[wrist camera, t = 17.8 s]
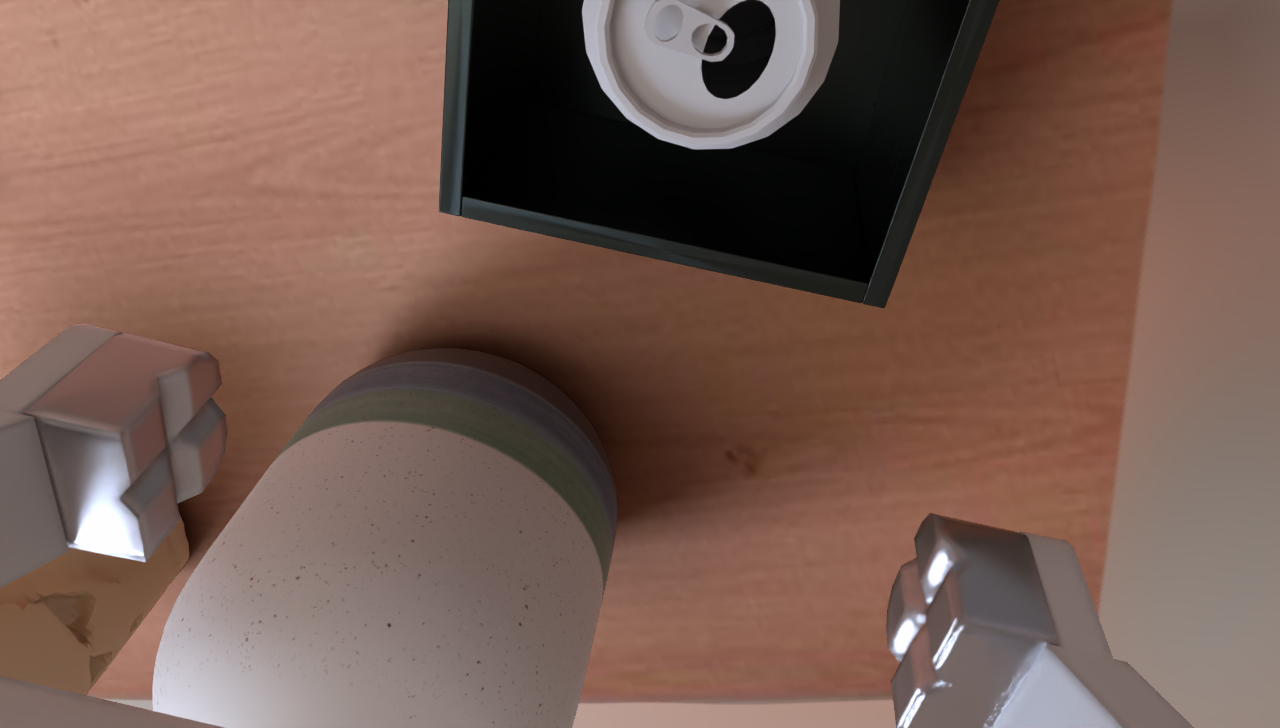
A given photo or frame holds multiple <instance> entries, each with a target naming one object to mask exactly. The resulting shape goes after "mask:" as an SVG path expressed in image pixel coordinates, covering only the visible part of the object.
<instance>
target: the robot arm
mask: <svg viewBox="0 0 1280 728" xmlns="http://www.w3.org/2000/svg"><path fill="white" fill-rule="evenodd" d="M221 385H222V381H221V375H220V369H219V362H218V360H217V359H216V358H215V357H213V356H212V355H211V354H210V353H207V352H203V351H199V350H195V349H191V348H187V347H183V346H179V345H174V344H170V343H166V342H162V341H158V340H154V339H150V338H146V337H142V336H138V335H134V334H130V333H122V332H119V331H115V330H110V329H106V328H102V327H98V326H94V325H90V324H86V323H83V324H77V325H71V326H69V327H67V328H66V329H65V330H64V331H62V332H61V333H60V334H58V335H57V336H56V337H55V338H53V339H52V340H51V341H50V342H48V343H47V344H46V345H44V346H43V347H42V348H41V349H39V350H38V351H37V352H35V353H34V354H33V355H32V356H30V357H29V358H28V359H27V360H25V361H24V362H23V363H21V364H20V365H19V366H18V367H16V368H15V369H14V370H13V371H11V372H10V373H9V374H7V375H6V376H5V377H4V378H2V379H1V380H0V588H2V587H4V586H6V585H7V584H9V583H11V582H13V581H15V580H17V579H19V578H20V577H22V576H24V575H26V574H28V573H30V572H31V571H33V570H35V569H37V568H39V567H41V566H43V565H44V564H46V563H48V562H50V561H52V560H54V559H56V558H57V557H59V556H61V555H63V554H65V553H67V552H68V551H69V548H68V547H71V548H76V549H81V550H86V551H91V552H96V553H101V554H106V555H111V556H116V557H121V558H126V559H131V560H136V561H141V562H146V561H147V560H148V559H149V558H150V556H151V555H152V554H153V553H154V552H155V550H156V549H157V548H158V547H159V545H160V544H161V543H162V542H163V540H164V539H165V538H166V537H167V535H168V534H169V533H170V532H171V531H172V529H173V528H174V527H175V526H176V524H177V523H178V522H179V521H180V517H179V510H178V504H177V503H180V502H182V501H184V500H186V499H189V498H191V497H193V496H196V495H198V494H200V493H202V492H203V490H204V489H205V488H206V487H207V485H208V484H209V483H210V481H211V480H212V479H213V477H214V476H215V474H216V472H217V469H218V467H219V465H220V462H221V460H222V457H223V455H224V452H225V446H226V438H227V425H226V415H225V414H224V413H223V411H222V410H221V409H220V408H219V406H218V405H217V404H216V403H215V401H214V400H213V399H212V398H211V396H212V395H213V394H214V393H215V391H216V390H217V389H218V388H219V387H220V386H221ZM914 540H915V547H916V554H917V558H915V559H913V560H911V561H909V562H907V563H906V564H904V565H902V566H901V567H900V570H899V572H898V574H897V577H896V579H895V582H894V584H893V586H892V590H891V595H890V599H889V604H888V608H887V624H886V631H887V643H888V648H889V649H890V651H891V652H892V653H893V655H894V656H895V657H896V658H897V660H898V661H899V662H900V664H899V666H898V668H897V670H896V672H895V674H894V676H893V678H892V680H891V683H892V692H893V701H894V710H895V719H896V728H1194V727H1193V726H1192V725H1191V724H1190V723H1189V722H1188V721H1187V720H1186V719H1185V718H1184V717H1183V716H1182V715H1181V714H1179V713H1178V712H1177V711H1176V710H1175V709H1174V708H1173V707H1172V706H1171V705H1170V704H1169V703H1168V702H1167V701H1166V700H1165V699H1164V698H1163V697H1162V696H1161V695H1160V694H1159V693H1158V692H1157V691H1156V690H1155V689H1154V688H1153V687H1152V686H1151V685H1150V684H1149V683H1148V682H1147V681H1146V680H1145V679H1144V678H1143V677H1142V676H1141V675H1140V674H1139V673H1138V672H1137V671H1136V670H1135V669H1134V668H1132V667H1131V665H1129V664H1128V663H1127V662H1124V661H1119V660H1116V659H1113V657H1112V654H1111V651H1110V649H1109V646H1108V643H1107V641H1106V638H1105V635H1104V632H1103V629H1102V626H1101V623H1100V621H1099V618H1098V615H1097V612H1096V609H1095V607H1094V604H1093V601H1092V598H1091V595H1090V593H1089V590H1088V587H1087V584H1086V581H1085V579H1084V576H1083V573H1082V570H1081V567H1080V565H1079V562H1078V559H1077V556H1076V553H1075V551H1074V548H1073V547H1072V546H1071V545H1070V544H1069V543H1068V542H1067V541H1066V540H1061V539H1056V538H1051V537H1046V536H1041V535H1036V534H1031V533H1026V532H1019V533H1018V532H1015V531H1011V530H1006V529H1001V528H997V527H992V526H988V525H983V524H978V523H974V522H969V521H964V520H960V519H955V518H950V517H946V516H941V515H937V514H932V513H930V514H929V515H928V516H927V517H926V518H925V519H924V520H923V522H922V523H921V525H920V527H919V529H918V532H917V534H916V536H915V538H914ZM0 728H225V727H220V726H216V725H212V724H207V723H203V722H199V721H194V720H190V719H186V718H182V717H177V716H173V715H169V714H164V713H160V712H156V711H151V710H147V709H143V708H138V707H134V706H130V705H125V704H121V703H117V702H112V701H108V700H104V699H99V698H95V697H91V696H86V695H82V694H78V693H73V692H69V691H65V690H60V689H56V688H52V687H47V686H43V685H39V684H34V683H30V682H26V681H21V680H17V679H13V678H8V677H4V676H0Z"/></svg>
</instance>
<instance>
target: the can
mask: <svg viewBox="0 0 1280 728" xmlns="http://www.w3.org/2000/svg"><path fill="white" fill-rule="evenodd" d="M839 14H840V0H584V3H583V8H582V17H583V27H584V36H585V46H586V53H587V55H588V57H589V60H590V62H591V65H592V67H593V69H594V72H595V74H596V76H597V79H598V81H599V84H600V86H601V88H602V90H603V91H604V92H605V93H606V94H607V96H608V97H609V98H610V99H611V100H612V102H613V103H614V104H615V105H616V106H617V108H618V109H619V110H620V111H621V112H622V114H623V115H624V116H625V117H626V118H627V119H628V120H630V121H631V122H633V123H634V124H636V125H637V126H639V127H640V128H642V129H643V130H645V131H646V132H648V133H650V134H651V135H653V136H654V137H656V138H657V139H659V140H663V141H666V142H670V143H673V144H677V145H680V146H684V147H687V148H691V149H732V148H735V147H738V146H741V145H744V144H747V143H750V142H753V141H756V140H759V139H762V138H765V137H768V136H769V135H771V134H772V133H773V132H775V131H776V130H778V129H779V128H780V127H782V126H783V125H785V124H786V123H787V122H789V121H790V120H791V119H793V118H794V117H796V116H797V115H798V114H800V113H801V111H802V110H803V109H804V107H805V106H806V105H807V103H808V102H809V101H810V99H811V98H812V97H813V95H814V94H815V93H816V91H817V90H818V89H819V87H820V86H821V85H822V83H823V82H824V80H825V77H826V75H827V72H828V69H829V66H830V64H831V61H832V58H833V55H834V52H835V50H836V47H837V44H838V38H839Z"/></svg>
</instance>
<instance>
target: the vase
mask: <svg viewBox="0 0 1280 728" xmlns="http://www.w3.org/2000/svg"><path fill="white" fill-rule="evenodd" d="M616 523H617V497H616V490H615V483H614V478H613V474H612V470H611V466H610V463H609V460H608V457H607V454H606V452H605V450H604V447H603V445H602V443H601V441H600V439H599V437H598V435H597V433H596V431H595V430H594V428H593V426H592V425H591V423H590V422H589V421H588V419H587V418H586V417H585V415H584V414H583V413H582V412H581V410H580V409H579V408H578V407H577V406H576V405H575V404H574V403H573V402H572V401H571V400H570V399H569V398H568V397H567V396H566V395H565V394H564V393H563V392H562V391H561V390H559V389H558V388H557V387H556V386H554V385H553V384H552V383H550V382H549V381H548V380H546V379H545V378H543V377H541V376H540V375H538V374H537V373H535V372H533V371H531V370H529V369H528V368H525V367H523V366H521V365H519V364H517V363H515V362H512V361H510V360H507V359H504V358H501V357H498V356H495V355H492V354H488V353H484V352H479V351H474V350H467V349H457V348H431V349H421V350H414V351H410V352H405V353H402V354H398V355H395V356H392V357H389V358H386V359H383V360H381V361H379V362H376V363H374V364H372V365H370V366H368V367H366V368H364V369H362V370H360V371H359V372H357V373H356V374H354V375H352V376H351V377H349V378H348V379H346V380H345V381H343V382H342V383H341V384H340V385H338V386H337V387H336V388H335V389H334V390H333V391H332V392H330V393H329V394H328V395H327V396H326V397H325V398H324V399H323V400H322V401H321V402H320V403H319V404H318V406H317V407H316V408H315V409H314V410H313V412H312V413H311V414H310V415H309V416H308V418H307V419H306V420H305V421H304V422H303V424H302V425H301V426H300V428H299V429H298V430H297V431H296V433H295V434H294V435H293V437H292V438H291V439H290V441H289V442H288V443H287V444H286V446H285V447H284V448H283V450H282V451H281V452H280V454H279V455H278V456H277V458H276V459H275V460H274V462H273V463H272V464H271V466H270V467H269V468H268V470H267V471H266V472H265V474H264V475H263V476H262V478H261V479H260V480H259V482H258V483H257V484H256V486H255V487H254V488H253V490H252V491H251V493H250V494H249V495H248V497H247V498H246V499H245V501H244V502H243V503H242V505H241V506H240V507H239V509H238V510H237V511H236V513H235V514H234V516H233V517H232V518H231V520H230V521H229V522H228V524H227V525H226V526H225V528H224V529H223V530H222V532H221V533H220V535H219V536H218V537H217V539H216V540H215V541H214V543H213V544H212V545H211V547H210V548H209V550H208V551H207V552H206V554H205V555H204V557H203V558H202V560H201V561H200V563H199V564H198V565H197V567H196V568H195V570H194V571H193V573H192V574H191V576H190V578H189V579H188V581H187V583H186V584H185V586H184V588H183V589H182V591H181V593H180V595H179V596H178V598H177V600H176V602H175V604H174V607H173V609H172V611H171V614H170V616H169V618H168V621H167V623H166V625H165V628H164V631H163V635H162V639H161V642H160V646H159V650H158V653H157V657H156V664H155V671H154V678H153V711H156V712H160V713H164V714H169V715H173V716H177V717H182V718H186V719H190V720H194V721H199V722H203V723H207V724H212V725H216V726H220V727H225V728H572V726H573V722H574V719H575V715H576V711H577V707H578V703H579V699H580V695H581V691H582V687H583V682H584V678H585V674H586V669H587V665H588V661H589V656H590V652H591V648H592V643H593V639H594V634H595V630H596V626H597V621H598V617H599V612H600V608H601V603H602V599H603V594H604V590H605V585H606V581H607V576H608V571H609V566H610V562H611V557H612V551H613V545H614V539H615V533H616Z"/></svg>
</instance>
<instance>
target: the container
mask: <svg viewBox="0 0 1280 728" xmlns="http://www.w3.org/2000/svg"><path fill="white" fill-rule="evenodd" d="M179 517H180V514H179ZM68 548H69V551H68V552H67V553H65V554H63V555H61V556H59V557H57V558H56V559H54V560H52V561H50V562H48V563H46V564H44V565H43V566H41V567H39V568H37V569H35V570H33V571H31V572H30V573H28V574H26V575H24V576H22V577H20V578H19V579H17V580H15V581H13V582H11V583H9V584H7V585H6V586H4V587H2V588H0V676H4V677H8V678H13V679H17V680H21V681H26V682H30V683H34V684H39V685H43V686H47V687H52V688H56V689H60V690H65V691H69V692H73V693H78V694H82V695H87V694H88V691H89V690H90V689H91V687H92V686H93V685H94V684H95V683H96V682H97V680H98V679H99V678H100V676H101V675H102V674H103V673H104V671H105V670H106V669H107V667H108V666H109V665H110V664H111V662H112V661H113V660H114V658H115V657H116V655H117V654H118V653H119V651H120V650H121V649H122V647H123V646H124V645H125V643H126V642H127V641H128V639H129V638H130V637H131V635H132V634H133V633H134V632H135V630H136V629H137V628H138V626H139V625H140V624H141V622H142V621H143V620H144V618H145V617H146V616H147V614H148V613H149V612H150V610H151V609H152V608H153V606H154V605H155V604H156V602H157V601H158V600H159V598H160V597H161V596H162V594H163V593H164V592H165V590H166V589H167V587H168V585H169V584H170V583H171V582H172V581H173V580H174V579H175V577H176V576H177V575H178V573H179V572H180V571H181V569H182V568H183V567H184V565H185V564H186V562H187V560H188V558H189V545H188V540H187V538H186V535H185V531H184V523H183V521H182V519H181V517H180V521H179V522H178V523H177V524H176V526H175V527H174V528H173V529H172V531H171V532H170V533H169V534H168V535H167V537H166V538H165V539H164V540H163V542H162V543H161V544H160V545H159V547H158V548H157V549H156V550H155V552H154V553H153V554H152V555H151V556H150V558H149V559H148V560H147V561H146V562H141V561H136V560H131V559H126V558H121V557H116V556H111V555H106V554H101V553H96V552H91V551H86V550H81V549H76V548H71V547H68Z"/></svg>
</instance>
